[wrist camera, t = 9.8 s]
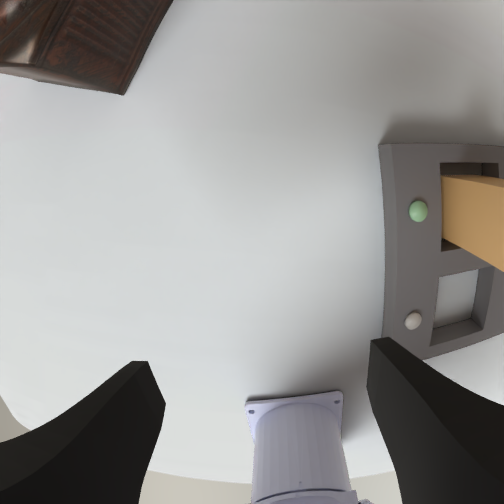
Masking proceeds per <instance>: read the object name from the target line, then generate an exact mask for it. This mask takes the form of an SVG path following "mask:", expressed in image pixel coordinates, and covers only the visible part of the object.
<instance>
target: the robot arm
mask: <svg viewBox="0 0 504 504" xmlns="http://www.w3.org/2000/svg"><path fill="white" fill-rule="evenodd" d="M366 387H367V391H368V395H369V399H370V403H371V406H372V410H373V413H374V416H375V419H376V421H377V424H378V426H379V429H380V431H381V434H382V436H383V439H384V441H385V444H386V446H387V449H388V452H389V454H390V457H391V459H392V462H393V465H394V468H395V471H396V474H397V479H398V483H399V488H400V493H401V498H402V503H403V504H504V405H501V404H498V403H496V402H493V401H491V400H488V399H486V398H484V397H482V396H480V395H478V394H476V393H474V392H472V391H470V390H468V389H466V388H464V387H462V386H460V385H459V384H457V383H455V382H454V381H452V380H450V379H449V378H447V377H445V376H444V375H442V374H441V373H439V372H438V371H436V370H435V369H433V368H432V367H430V366H429V365H427V364H426V363H425V362H423V361H422V360H420V359H419V358H418V357H416V356H415V355H413V354H412V353H411V352H409V351H408V350H407V349H405V348H404V347H403V346H401V345H400V344H399V343H397V342H396V341H394V340H393V339H392V338H390V337H384V338H379V339H374V340H371V345H370V357H369V368H368V378H367V386H366ZM336 400H338V401H336ZM165 406H166V403H165V400H164V398H163V396H162V394H161V392H160V389H159V387H158V385H157V383H156V380H155V378H154V376H153V373H152V371H151V368H150V366H149V363H148V361H131V362H130V363H129V364H127V365H126V366H124V367H123V368H122V369H120V370H119V371H118V372H117V373H115V374H114V375H113V376H111V377H110V378H109V379H108V380H107V381H105V382H104V383H103V384H101V385H100V386H99V387H98V388H96V389H95V390H94V391H93V392H91V393H90V394H89V395H88V396H86V397H85V398H83V399H82V400H81V401H79V402H78V403H77V404H75V405H74V406H72V407H71V408H70V409H68V410H67V411H65V412H64V413H62V414H61V415H59V416H58V417H56V418H54V419H53V420H51V421H49V422H47V423H46V424H44V425H42V426H40V427H38V428H36V429H34V430H32V431H30V432H27V433H25V434H23V435H21V436H18V437H16V438H13V439H10V440H8V441H5V442H1V443H0V504H138V503H139V498H140V492H141V487H142V484H143V480H144V477H145V474H146V471H147V468H148V465H149V462H150V459H151V456H152V454H153V451H154V448H155V445H156V442H157V439H158V436H159V433H160V430H161V427H162V422H163V417H164V411H165ZM342 409H343V393H342V392H341V391H334V392H328V393H321V394H314V395H307V396H299V397H291V398H281V399H271V400H258V401H248V402H246V403H245V411H246V415H247V419H248V423H249V427H250V431H251V434H252V438H253V442H254V461H253V479H252V497H251V503H250V504H373V503H372V502H370V501H369V500H367V499H365V500H360V501H359V502H358V498H357V493H356V490H351V485H350V479H349V474H348V469H347V464H346V460H345V455H344V450H343V445H342V441H341V436H340V434H341V422H342ZM251 410H253V411H251Z"/></svg>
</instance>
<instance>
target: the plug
mask: <svg viewBox="0 0 504 504" xmlns="http://www.w3.org/2000/svg"><path fill="white" fill-rule="evenodd" d="M440 178H441V203H442V232H441V237H442V238H444V239H446V240H448V241H450V242H452V243H454V244H455V245H457V246H459V247H461V248H463V249H465V250H466V251H468V252H470V253H472V254H474V255H475V256H477V257H479V258H481V259H482V260H484V261H486V262H488V263H489V264H491V265H493V266H494V267H496V268H498V269H499V270H501V271H503V272H504V179H500V178H495V177H489V176H483V175H476V174H466V175H440Z"/></svg>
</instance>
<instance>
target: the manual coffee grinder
mask: <svg viewBox="0 0 504 504" xmlns="http://www.w3.org/2000/svg"><path fill="white" fill-rule="evenodd" d="M172 1H173V0H0V73H2V74H8V75H13V76H18V77H24V78H29V79H33V80H36V81H38V82H46V83H52V84H57V85H63V86H69V87H75V88H82V89H89V90H96V91H102V92H108V93H114V94H119V95H124V94H125V92H126V90H127V88H128V86H129V84H130V82H131V80H132V78H133V76H134V74H135V72H136V71H137V69H138V67H139V64H140V62H141V60H142V58H143V56H144V54H145V52H146V50H147V48H148V46H149V44H150V42H151V40H152V38H153V36H154V34H155V32H156V30H157V28H158V26H159V24H160V22H161V21H162V19H163V17H164V15H165V14H166V12H167V10H168V8H169V7H170V5H171V3H172Z"/></svg>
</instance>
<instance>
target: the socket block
mask: <svg viewBox="0 0 504 504" xmlns="http://www.w3.org/2000/svg"><path fill="white" fill-rule="evenodd" d="M378 149H379V157H380V167H381V177H382V190H383V205H384V226H385V292H384V314H383V329H382V338H384V337H390V338H392V339H393V340H394V341H396V342H397V343H399V344H400V345H401V346H403V347H404V348H405V349H407V350H408V351H409V352H411V353H412V354H413V355H415V356H416V357H418V358H419V359H420V360H425V359H428V358H432V357H435V356H439V355H442V354H445V353H448V352H452V351H455V350H458V349H461V348H464V347H467V346H470V345H472V344H475V343H478V342H481V341H483V340H486V339H489V338H491V337H494V336H496V335H499V334H501V333H504V272H503V271H501V270H499V269H498V268H496V267H494V266H493V265H491V264H489V263H488V262H486V261H484V260H482V259H481V258H479V257H477V256H475V255H474V254H472V253H470V252H468V251H466V250H465V249H463V248H461V247H459V246H457V245H455V244H454V243H452V242H450V241H448V240H445V241H441V232H442V203H441V178H440V163H441V162H477V163H482V175H483V176H489V177H495V178H500V179H504V147H502V146H489V145H473V144H449V143H393V144H382V145H378ZM475 269H479V273H478V281H477V288H476V294H475V300H474V306H473V311H472V316H471V319H467V320H464V321H461V322H457V323H454V324H450V325H447V326H443V327H439V328H436V329H433V323H434V316H435V309H436V301H437V293H438V283H439V277H442V276H447V275H452V274H457V273H461V272H466V271H471V270H475Z"/></svg>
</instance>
